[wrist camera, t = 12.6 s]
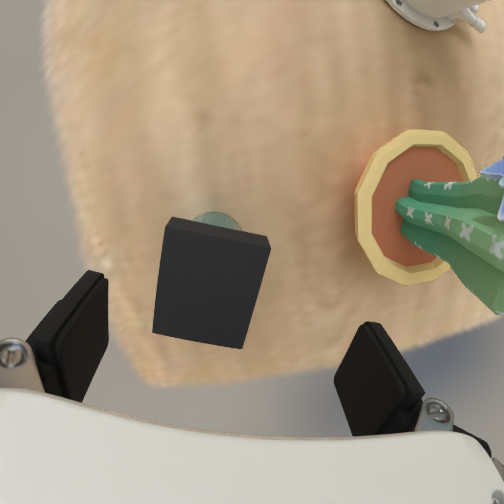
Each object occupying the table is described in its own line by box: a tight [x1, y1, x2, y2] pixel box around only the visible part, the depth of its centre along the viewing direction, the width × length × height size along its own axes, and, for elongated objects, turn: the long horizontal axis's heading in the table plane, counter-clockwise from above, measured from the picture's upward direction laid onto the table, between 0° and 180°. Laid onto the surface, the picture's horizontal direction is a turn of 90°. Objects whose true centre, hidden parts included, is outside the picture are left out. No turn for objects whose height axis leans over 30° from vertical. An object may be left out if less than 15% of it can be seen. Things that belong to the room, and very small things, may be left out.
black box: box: [152, 217, 271, 349], centre depth 24 cm, size 7×9×3 cm
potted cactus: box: [354, 129, 504, 316], centre depth 21 cm, size 15×15×25 cm
